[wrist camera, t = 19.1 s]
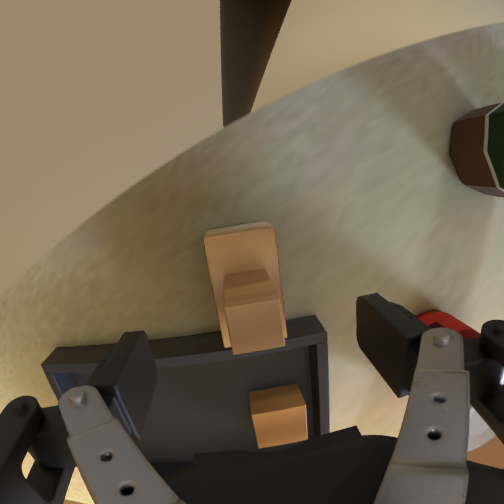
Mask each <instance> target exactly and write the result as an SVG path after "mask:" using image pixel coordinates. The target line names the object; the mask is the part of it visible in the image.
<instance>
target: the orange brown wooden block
mask: <svg viewBox="0 0 504 504" xmlns="http://www.w3.org/2000/svg"><path fill="white" fill-rule="evenodd" d="M249 400H250V408H251V415H252V420H253V425H254V430H255V435H256V439H257V444H258V448H265V447H271V446H277V445H283V444H288V443H293V442H298V441H303V440H307V439H308V432H307V415H306V404H305V401H304V399H303V396H302V393H301V391H300V388H299V385H298V383H296V384H290V385H285V386H280V387H274V388H269V389H263V390H257V391H250V392H249Z"/></svg>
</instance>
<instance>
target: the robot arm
mask: <svg viewBox="0 0 504 504" xmlns="http://www.w3.org/2000/svg"><path fill="white" fill-rule="evenodd" d="M356 319H357V332H356V333H357V341H358V344H359V347H360V349H361V350H362V351H363V353H364V354H365V355H366V357H367V358H368V359H369V360H370V362H371V363H372V364H373V366H374V367H375V368H376V369H377V371H378V372H379V373H380V375H381V376H382V377H383V379H384V380H385V381H386V383H387V384H388V385H389V387H390V388H391V389H392V390H393V392H394V393H395V394H396V396H397V397H398V398H400V397H403V396H405V395H408V394H410V395H409V399H408V403H407V407H406V411H405V415H404V418H403V422H402V426H401V429H400V433H399V436H398V438H395V437H390V436H383V435H363V436H361V434H360V432H359V430H358V428H357V426H353V427H350V428H346V429H342V430H339V431H335V432H331V433H327V434H323V435H319V436H316V437H314V438H312V439H309V440H307V441H305V442H302V443H300V444H297V445H295V446H292V447H290V448H287V449H285V450H282V451H278V452H258V451H239V450H232V451H222V452H211V453H197V454H194V465H192V466H188V467H185V468H182V469H179V470H177V471H175V472H173V473H171V474H169V475H167V476H165V477H164V478H161V477H160V475H159V474H158V473H157V472H156V471H155V469H154V468H153V467H152V466H151V464H150V463H149V462H148V460H147V459H146V458H145V457H144V455H143V454H142V453H141V451H140V450H139V449H138V447H137V446H136V445H135V443H134V442H133V441H141V438H142V434H143V430H144V427H145V423H146V419H147V416H148V412H149V408H150V405H151V401H152V398H153V394H154V391H155V388H156V384H157V380H158V373H157V367H156V364H155V361H154V358H153V355H152V351H151V348H150V345H149V342H148V338H147V336H146V333H145V332H144V331H134V332H125V333H124V334H123V335H122V337H121V339H120V340H119V342H118V344H117V345H116V346H113V347H112V348H110V349H109V350H108V351H106V352H105V353H104V355H103V356H102V358H101V360H100V362H99V363H98V364H97V366H96V368H95V369H94V371H93V373H92V374H91V376H90V378H89V379H88V381H87V383H86V384H85V386H78V387H75V388H72V389H70V390H68V391H67V392H65V393H64V394H63V395H62V396H61V397H60V399H59V402H58V406H52V407H46V408H41V407H40V405H39V403H38V401H37V400H36V398H34V397H32V396H21V397H18V398H16V399H14V400H12V401H11V402H10V403H8V404H7V406H6V407H5V408H4V410H3V411H2V412H1V414H0V504H63V502H64V499H65V496H66V492H67V489H68V486H69V483H70V480H71V477H72V474H73V471H74V468H75V467H78V469H79V472H80V474H81V476H82V478H83V481H84V483H85V485H86V487H87V489H88V491H89V493H90V495H91V497H92V499H93V501H94V503H95V504H504V469H499V468H495V467H491V466H487V465H483V464H479V463H475V462H472V461H468V460H467V451H468V439H469V422H470V405H471V406H472V407H473V408H474V409H475V411H476V412H477V413H478V414H479V415H480V416H481V418H482V419H483V420H484V421H485V422H486V423H487V425H488V426H489V427H490V428H491V429H492V431H493V432H494V433H495V434H496V435H497V437H498V438H499V439H500V440H501V441H502V443H503V444H504V321H503V320H491V321H488V322H486V323H484V324H483V326H482V329H481V334H480V337H475V338H469V339H463V337H462V336H461V334H460V333H458V332H457V331H455V330H453V329H449V328H433V329H431V328H430V327H429V326H427V325H426V324H425V323H424V322H422V321H421V320H420V319H418V318H417V317H415V315H413V314H412V313H411V312H410V313H409V311H408V310H407V309H405V308H404V307H403V306H401V305H398V304H395V303H392V302H388V301H387V300H385V299H384V298H383V297H382V296H380V295H379V294H378V293H374V294H369V295H364V296H360V297H358V298H357V302H356ZM27 452H29V453H30V454H31V456H32V457H33V458H34V460H35V461H34V463H33V466H32V468H31V470H30V472H29V475H28V477H27V479H26V478H25V477H24V475H23V473H22V462H23V460H24V458H25V456H26V454H27Z"/></svg>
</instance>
